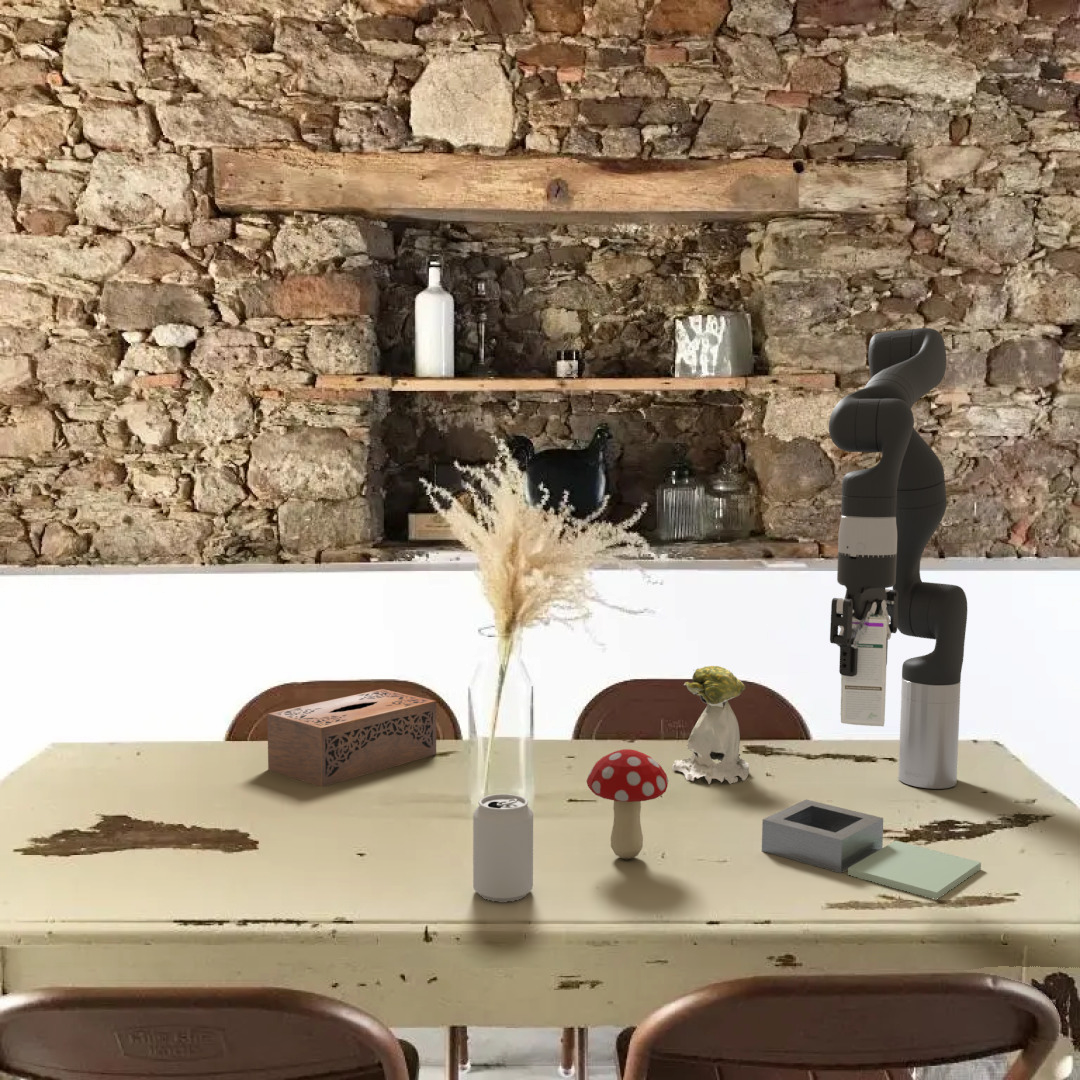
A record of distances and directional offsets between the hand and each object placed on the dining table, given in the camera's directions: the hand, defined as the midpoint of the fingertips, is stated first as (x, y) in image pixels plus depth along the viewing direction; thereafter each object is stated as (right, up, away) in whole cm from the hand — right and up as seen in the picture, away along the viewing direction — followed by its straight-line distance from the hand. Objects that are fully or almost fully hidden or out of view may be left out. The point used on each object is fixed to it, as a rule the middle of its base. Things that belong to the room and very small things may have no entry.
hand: (863, 670), depth 156 cm
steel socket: (-4, -26, +6) cm, 27 cm away
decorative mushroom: (-32, -26, +2) cm, 41 cm away
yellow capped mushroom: (-14, -22, +42) cm, 50 cm away
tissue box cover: (-76, -22, +48) cm, 92 cm away
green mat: (+6, -26, -2) cm, 27 cm away
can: (-48, -27, -10) cm, 56 cm away
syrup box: (0, -7, +1) cm, 7 cm away
